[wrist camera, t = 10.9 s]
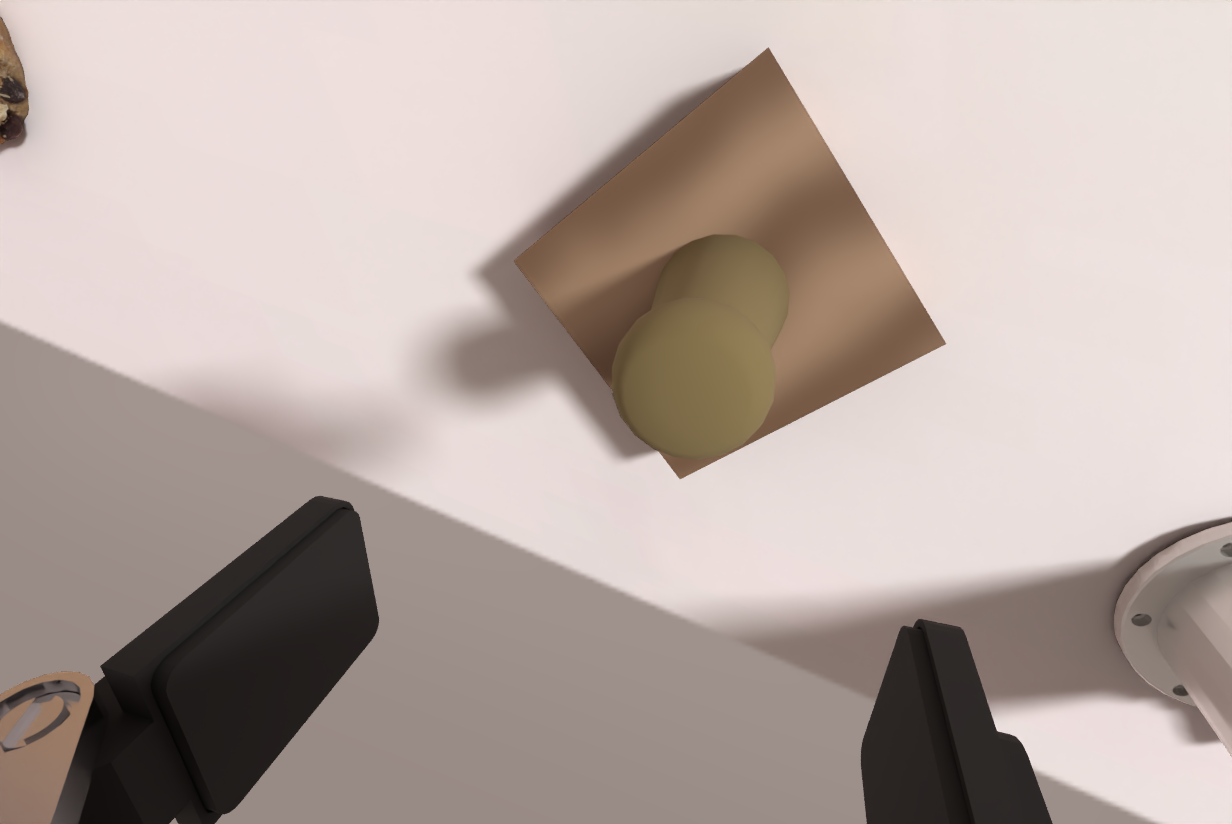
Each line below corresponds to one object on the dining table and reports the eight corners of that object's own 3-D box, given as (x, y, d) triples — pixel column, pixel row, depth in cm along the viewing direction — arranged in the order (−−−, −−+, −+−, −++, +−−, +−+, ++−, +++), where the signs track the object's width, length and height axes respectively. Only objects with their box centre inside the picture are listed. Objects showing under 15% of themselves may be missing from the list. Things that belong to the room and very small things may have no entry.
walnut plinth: (927, 316, 29) (946, 343, 26) (690, 443, 36) (680, 479, 32) (771, 55, 26) (768, 47, 23) (543, 245, 33) (513, 261, 29)
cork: (794, 358, 28) (796, 487, 18) (665, 369, 30) (606, 491, 20) (784, 223, 25) (782, 289, 16) (645, 244, 27) (567, 314, 18)
